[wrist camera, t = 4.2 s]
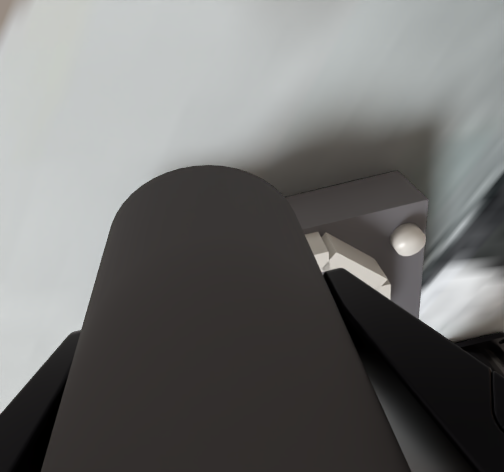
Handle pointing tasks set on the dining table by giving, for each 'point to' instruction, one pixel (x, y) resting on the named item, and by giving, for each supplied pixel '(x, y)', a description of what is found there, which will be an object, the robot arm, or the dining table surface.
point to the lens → (215, 344)
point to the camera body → (369, 233)
